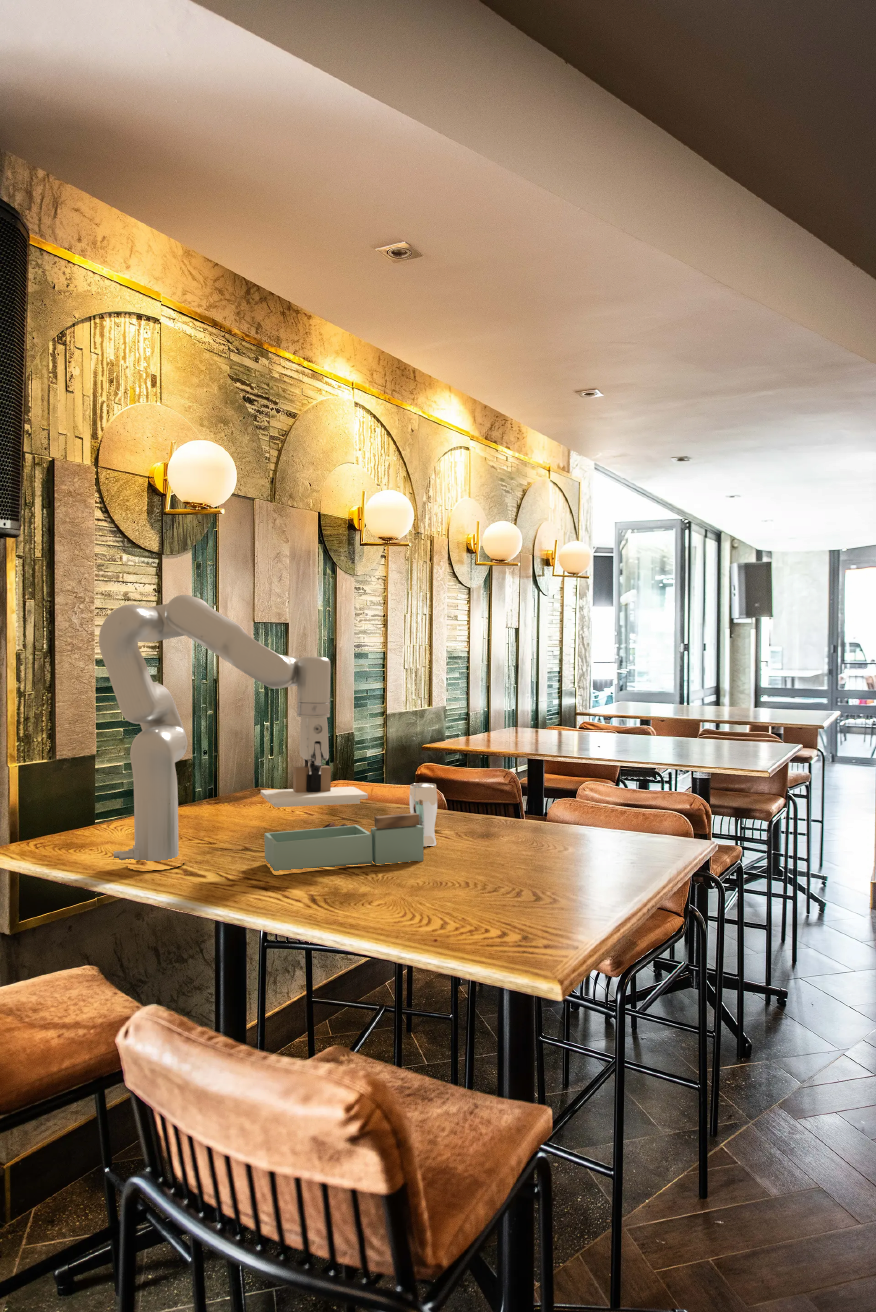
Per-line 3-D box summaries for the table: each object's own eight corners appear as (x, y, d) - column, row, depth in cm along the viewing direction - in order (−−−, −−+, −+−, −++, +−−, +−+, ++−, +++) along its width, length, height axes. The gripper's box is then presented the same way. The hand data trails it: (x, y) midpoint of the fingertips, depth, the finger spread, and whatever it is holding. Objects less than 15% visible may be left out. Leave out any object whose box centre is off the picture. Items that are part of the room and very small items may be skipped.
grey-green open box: (275, 876, 181) (274, 840, 181) (264, 863, 193) (264, 829, 193) (423, 860, 193) (423, 826, 194) (405, 849, 205) (404, 817, 205)
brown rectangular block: (377, 828, 190) (377, 818, 190) (374, 827, 192) (374, 816, 192) (419, 824, 194) (418, 814, 194) (415, 823, 196) (415, 812, 196)
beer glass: (439, 842, 213) (438, 782, 214) (436, 848, 207) (435, 786, 207) (412, 841, 214) (411, 782, 214) (408, 847, 207) (407, 786, 207)
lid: (269, 808, 182) (270, 773, 182) (260, 799, 193) (260, 766, 193) (367, 803, 190) (368, 769, 190) (353, 795, 201) (353, 763, 201)
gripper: (338, 712, 187) (336, 795, 187) (320, 708, 203) (319, 784, 202) (304, 712, 185) (303, 796, 184) (289, 708, 200) (288, 786, 200)
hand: (311, 789), depth 193 cm, fingers closed on lid, 3 cm apart
